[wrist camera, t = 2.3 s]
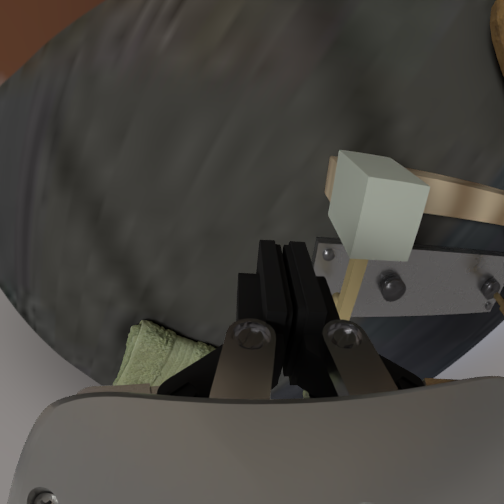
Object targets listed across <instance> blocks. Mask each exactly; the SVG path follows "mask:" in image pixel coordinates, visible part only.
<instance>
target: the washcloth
mask: <svg viewBox="0 0 504 504" xmlns="http://www.w3.org/2000/svg"><path fill="white" fill-rule="evenodd" d="M130 329H131V331H130V333H129V334H128V336H129V337H128V339H127V340H128V341H127V344H126V346H127V349H126V352H125V354H124V358H123V362H122V365H121V367H120V371H119V373H118V376H117V378H116V379H115V381H114V382H113V385H131V384H145V383H150V386H160V385H161V384H162V383H163V382H164V381H166V380H167V379H168V378H170V377H172V376H173V375H175V374H176V373H178V372H180V371H181V370H183V369H185V368H186V367H188V366H189V365H191V364H193V363H194V362H196V361H197V360H199V359H201V358H202V357H204V356H205V355H207V354H208V353H210V352H212V351H213V350H215V349H216V348H214V347H213V346H211V345H210V346H207V344H205V343H203V342H202V341H201V342H199V341H198V342H194V341H192V340H190V339H187V338H185V337H181V336H179V335H176V333H175V332H174V331H171V330H169V329H167V330H165V328H164V327H163V326H161V327H160V326H158V325H157V324H154V323H153V322H152V321H147V320H141V322H140V323H139V325H133V326H132V327H131V328H130Z"/></svg>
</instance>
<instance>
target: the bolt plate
mask: <svg viewBox="0 0 504 504" xmlns="http://www.w3.org/2000/svg"><path fill="white" fill-rule="evenodd" d="M349 259H350V258H349V256H348V254H347V252H346V250H345V248H344V246H343V244H342V242H341V240H340V239H337V238H322V237H316V242H315V247H314V253H313V258H312V265H313V268H314V271H315V274H316V276H324V277H325V278H326V280H327V283H328V286H329V289H330V291H331V294H332V295H333V294H334V293H335V292H339V293H340V292H341V289H342V285H343V282H344V278H345V274H346V271H347V267H348V263H349ZM503 286H504V252H495V251H485V250H474V249H463V248H452V247H440V246H428V245H416V244H413V247H412V250H411V253H410V256H409V259H408V262H405V261H386V260H368V263H367V267H366V270H365V273H364V277H363V280H362V283H361V286H360V289H359V292H358V295H357V298H356V301H355V304H354V307H353V310H352V313H351V316H350V317H386V316H423V315H446V314H464V313H479V312H490V311H491V309H492V307H493V305H494V303H495V301H496V300H495V299H494V297H493V296H494V294H495V293H496V292H498V293H499V294H500V292H501V290H502V288H503Z"/></svg>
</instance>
